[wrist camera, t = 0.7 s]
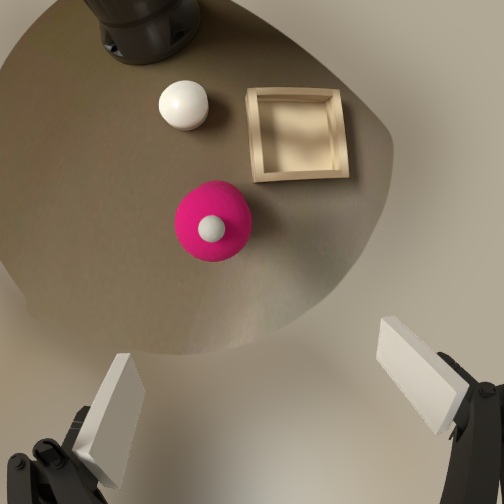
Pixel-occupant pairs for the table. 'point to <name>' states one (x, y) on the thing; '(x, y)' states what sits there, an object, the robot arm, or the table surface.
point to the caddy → (296, 134)
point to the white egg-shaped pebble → (184, 105)
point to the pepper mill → (213, 221)
